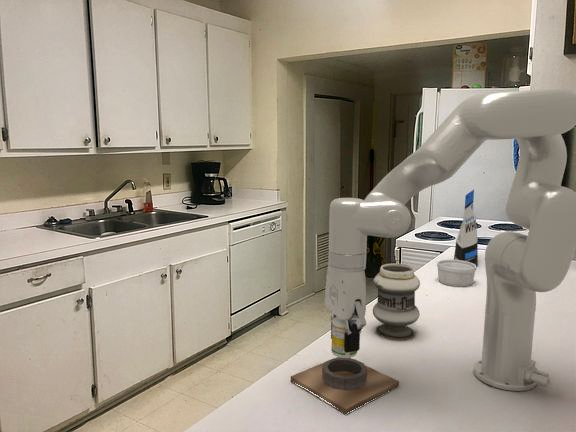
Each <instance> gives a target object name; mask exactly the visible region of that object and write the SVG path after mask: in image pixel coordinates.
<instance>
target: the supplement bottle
mask: <svg viewBox="0 0 576 432" xmlns="http://www.w3.org/2000/svg"><path fill="white" fill-rule="evenodd" d="M351 317H355V314H352V316H351ZM331 322H332V339H331V351H330V352H331V354H332V355H333V356H335V357H340V358H351V359H352V358H353V357H355V356H357V354H358V351H354V352H348V353H346V352H345V351H344V333H347V332H346V323H345V321H343V320H341V319H340V318H339V317H337V316H336V317H335V318H334V319H333V321H331ZM350 324H351V326H352V325H353V324H355V321H350Z"/></svg>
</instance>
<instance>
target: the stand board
mask: <svg viewBox="0 0 576 432" xmlns="http://www.w3.org/2000/svg"><path fill="white" fill-rule="evenodd" d="M291 381H292V382H294V383H296V384H298V385H300V386H302V387H304V388H306V389H308V390H309V391H311V392H313V393H314V394H316V395H318V396H319V397H321V398H323V399H324V400H326V401H327V402H329V403H331V404H332V405H333V406H335V407H336V408H338V409H339V410H340V411H342V412H343V413H345V414H347V413H348V412H350V411H352V410H354V409H356V408H358V407H360V406H362V405H364V404H365V403H367V402H369V401H371V400H373V399H375V398H377V397H379V396H381V395H383V394H384V395H386V394H388V393H389V392H388V391H390V392H392V391H393V390H392V389H394V388H396V389H398V388H399V387H400V380H397V379H396V378H393V377H391V376H390V375H388V374H385V373H383V372H381V371H378V370H377V369H375V368H373V367H370V366H368V365H365V363H364V362H362V361H359V360H357V359H355V358H352V357H351V358H340V357H337V356H335V357H334V358H331V359H328V360H325V361H324V362H322V363H320V364H319V363H318V364H317V365H314V366H312V367H309V368H308V369H305V370H302V371H300V372H297V373H295V374H293V375H290V382H291ZM292 382H291V383H292ZM294 383H293V384H294ZM296 384H295V385H296ZM398 386H399V387H398ZM397 387H398V388H397ZM391 390H392V391H391ZM394 390H395V389H394ZM387 392H388V393H387ZM385 393H386V394H385ZM384 395H383V396H384ZM381 397H382V396H381ZM379 398H380V397H379ZM377 399H378V398H377ZM375 400H376V399H375ZM373 401H374V400H373ZM371 402H372V401H371ZM369 403H370V402H369ZM364 406H365V405H364ZM362 407H363V406H362ZM360 408H361V407H360ZM358 409H359V408H358ZM339 410H338V411H339ZM356 410H357V409H356ZM340 411H339V412H340ZM354 411H355V410H354ZM342 412H341V413H342ZM343 413H342V414H343ZM345 414H344V415H345ZM347 415H348V414H347Z"/></svg>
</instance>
